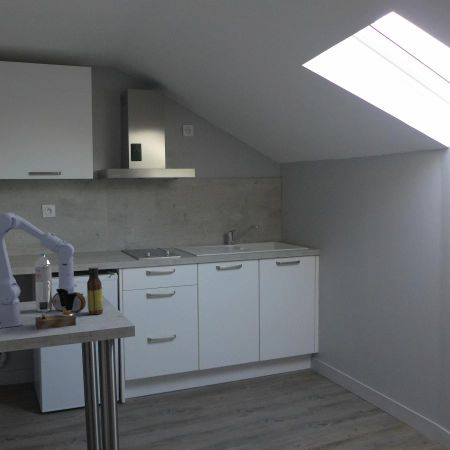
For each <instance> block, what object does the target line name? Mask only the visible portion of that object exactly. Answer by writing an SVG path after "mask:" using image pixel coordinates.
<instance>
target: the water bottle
mask: <svg viewBox="0 0 450 450" xmlns="http://www.w3.org/2000/svg"><path fill="white" fill-rule="evenodd" d="M34 267H35V280H34V281H35V282H34V283H35V285H34V286H35V309H36V311H37V309H38V308H40V305H39V302H48V307H49V308H50V311H49V312H51V311H53V303H52V298H53V280H52V278H53V277H52V276H53V275H52V262H51V260H50V259H49V258H48V257H46V253H45V252H42V253H40V256H39V258H37V259H36V261H35V263H34ZM45 313H48V311H46V312H45Z"/></svg>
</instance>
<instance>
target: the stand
mask: <svg viewBox="0 0 450 450" xmlns="http://www.w3.org/2000/svg"><path fill="white" fill-rule="evenodd" d="M34 318H35V320H34V321H35V326H36V328H37V329H38V330H46V329H55V328H62V327H64V326H65V327H70V326H76V325H77V321H76V318H77V317H76V316H75V315H73V316H70V317H61V316H60V314H53V315H45V319H42V316H38V317H37V316H36V317H34Z"/></svg>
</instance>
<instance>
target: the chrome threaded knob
mask: <svg viewBox="0 0 450 450" xmlns="http://www.w3.org/2000/svg"><path fill="white" fill-rule="evenodd" d="M39 305H40V308H38V309H37V310H36V312H38V313H41V317H42V319H45V316H46V313H47V312H46V311H49V312H51V311H50V308H49V307H48V302H39Z"/></svg>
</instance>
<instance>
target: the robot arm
mask: <svg viewBox="0 0 450 450" xmlns="http://www.w3.org/2000/svg"><path fill="white" fill-rule="evenodd" d="M11 230H20V231H21V230H22V231H23V232H25V233H26V234H29V235H31V236H32V237H34V238H36V239H38V240H39V241H40V245H41V246H42V247H44V248H46V249H48V250H49V251H51V252H52V253H54V254H56V255H57V257H58V285H57V286H58V287H57V288H56V289H55V290H56V293H58V295H59V298H60V302H61V306H62V307H63V306H65V307H66V310H67V311H68V310H72V308H73V303H74V300H75V297H76V295H77V293H78V292H77V291H75V289H74V288H77V286H78V285H77V284H76V283H75V277H74V276H75V275H74V274H75V273H74V268H75V267H74V266H75V265H74V253H75V247H74V245H72V244H71V242H66V240H65V239H64V240H63V239H61V238H59V237H58V236H56V233H55V232H44V231H42V230H41V229H39V228H38V227H36V226H35V225H34V224H32V223H31V222H30V221H28V220H26V219H25V218H24V217H22V216H20V215H17V214H16V213H14V212H12V211H8V212H5V213H1V214H0V329H5V328H12V327H20V326H23V323H22V321H21V307H20V299H19V296H20V295H21V292H22V291H21V288H20V286H19V285H18V283H17V281H16V279H15V277H14V276H13V275H14V274H13V271H12V267H11V262H10V257H9V254H8V249H7V244H6V240H5V238H6V237H7V234H8V233H9V232H10V231H11ZM76 292H77V293H76Z"/></svg>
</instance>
